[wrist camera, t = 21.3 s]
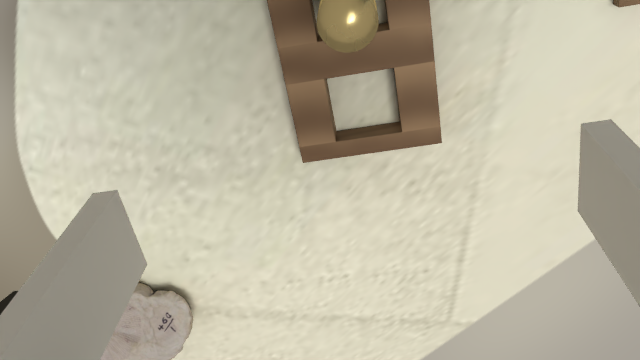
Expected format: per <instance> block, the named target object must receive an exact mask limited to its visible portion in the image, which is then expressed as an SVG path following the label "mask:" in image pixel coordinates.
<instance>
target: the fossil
mask: <svg viewBox="0 0 640 360" xmlns="http://www.w3.org/2000/svg"><path fill="white" fill-rule="evenodd" d="M192 323H193V315H192V312H191V310H190V307H189V305H188V303H187V302H186V301H185V299H184V298H183V297H182V296H180V295H178V294H176V293H175V292H174V291H156V292H153V291H152V290H151V288H150V286H147V285H145V284H142V283H138V284H137V286H136V288H135V290H134V292H133V294H132V296H131V298H130V300H129V302H128V304H127V306H126V308H125V310H124V312H123V314H122V316H121V318H120V320H119V322H118V324H117V326H116V328H115V330H114V332H113V335H112V337H111V339H110V341H109V343H108V345H107V347H106V349H105V351H104V353H103V355H102V357H101V359H100V360H171V359H172V358H174V357H175V356H176V355H177V354H178V353H179V352H181V350H182V349H183V344H184V342H185V340H186V339H187V338H188V336H189V334H190V332H191V329H192Z"/></svg>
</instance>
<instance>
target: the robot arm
mask: <svg viewBox="0 0 640 360" xmlns="http://www.w3.org/2000/svg"><path fill="white" fill-rule="evenodd" d="M578 212H579V213H580V215H581V217H582V218H583V220H584V221H585V223H586V224H587V226H588V227H589V229H590V230H591V232H592V234H593V235H594V237H595V238H596V240H597V241H598V243H599V244H600V246H601V247H602V249H603V250H604V252H605V254H606V255H607V257H608V258H609V260H610V261H611V263H612V264H613V266H614V267H615V269H616V270H617V272H618V274H619V275H620V277H621V278H622V280H623V281H624V283H625V285H626V286H627V288H628V289H629V291H630V292H631V294H632V295H633V297H634V298H635V300H636V301H637V303H638V305H639V306H640V148H639V147H638V146H637V145H636V144H635V143H634V142H633V141H632V140H631V139H630V138H629V137H628V136H627V135H626V134H625V133H624V132H623V131H622V130H621V129H620V128H619V127H618V126H617V125H616V124H615V123H614V122H613V121H612V120H604V121H597V122H590V123H583V124H581V137H580V164H579V190H578ZM146 266H147V263H146V260H145V258H144V255H143V253H142V250H141V248H140V245H139V243H138V240H137V238H136V235H135V233H134V230H133V228H132V226H131V223H130V221H129V218H128V216H127V213H126V211H125V208H124V206H123V203H122V201H121V198H120V196H119V193H118V191H117V190H114V191H107V192H100V193H93V194H92V195H91V196H90V198H89V199H88V200H87V202H86V203H85V204H84V206H83V207H82V208H81V210H80V211H79V212H78V214H77V215H76V216H75V217H74V219H73V220H72V221H71V223H70V224H69V225H68V227H67V228H66V229H65V231H64V232H63V233H62V235H61V236H60V237H59V239H58V240H57V241H56V242H55V244H54V245H53V246H52V248H51V249H50V250H49V252H48V253H47V254H46V256H45V257H44V258H43V260H42V261H41V262H40V263H39V265H38V266H37V268H36V269H35V270H34V271H33V273H32V274H31V275H30V277H29V278H28V279H27V281H26V282H25V283H24V285H23V286H22V287H21V288H20V290H19V291H14V292H12V293H11V294H10V295H8V296H7V297H6V298H5V299H3V300H2V301H1V302H0V360H100V359H101V357H102V355H103V353H104V351H105V349H106V347H107V345H108V343H109V341H110V339H111V337H112V335H113V332H114V330H115V328H116V326H117V324H118V322H119V320H120V318H121V316H122V314H123V312H124V310H125V308H126V306H127V304H128V302H129V300H130V298H131V296H132V294H133V292H134V290H135V288H136V286H137V284H138V282H139V280H140V278H141V276H142V274H143V272H144V270H145V268H146Z"/></svg>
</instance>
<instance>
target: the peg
mask: <svg viewBox="0 0 640 360" xmlns="http://www.w3.org/2000/svg"><path fill="white" fill-rule="evenodd" d="M378 22H379V20H378V13H377V7H376V2H375V0H320V5H319V10H318V15H317V29H318V32H319V35H320V37H321V39H322V40H323V41H324V42H325V43H326V45H328V46H329V47H330V48H332V49H334V50H336V51H339V52H344V53H350V52H355V51H358V50H361V49H363V48H364V47H366V46H367V45H368V44H369V43H370V42H371V41H372V40H373V38H374V37H375V35H376V32H377V29H378Z"/></svg>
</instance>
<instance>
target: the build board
mask: <svg viewBox="0 0 640 360" xmlns="http://www.w3.org/2000/svg"><path fill="white" fill-rule="evenodd" d="M267 3H268V7H269V12H270V16H271V21H272V25H273V30H274V34H275V39H276V43H277V48H278V52H279V57H280V61H281V66H282V70H283V75H284V79H285V84H286V88H287V93H288V97H289V102H290V107H291V111H292V116H293V120H294V125H295V129H296V134H297V138H298V143H299V147H300V152H301V156H302V161H303V163H305V162H312V161H319V160H326V159H333V158H340V157H347V156H354V155H361V154H368V153H375V152H382V151H389V150H396V149H403V148H410V147H417V146H424V145H431V144H438V143H442V139H441V128H440V117H439V106H438V95H437V84H436V72H435V61H434V50H433V39H432V28H431V17H430V5H429V0H385V3H386V11H387V19H388V23H383V24H378V29H377V32H376V35H375V37H374V38H373V40H372V41H371V42H370V43H369V44H368V45H367V46H366V47H364V48H363V49H361V50H358V51H355V52H350V53H344V52H339V51H336V50H334V49H332V48H330V47H329V46H328V45H326V43H325V42H324V41H323V40H322V39H321V37H320V35H318V29H317V24H316V19H315V13H314V8H313V2H312V0H267ZM390 68H394V75H395V83H396V91H397V99H398V107H399V115H400V122H395V123H389V124H382V125H375V126H369V127H362V128H355V129H348V130H342V131H336V127H335V122H334V116H333V111H332V105H331V100H330V95H329V89H328V84H327V78H334V77H340V76H346V75H352V74H358V73H365V72H371V71H377V70H383V69H390Z"/></svg>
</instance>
